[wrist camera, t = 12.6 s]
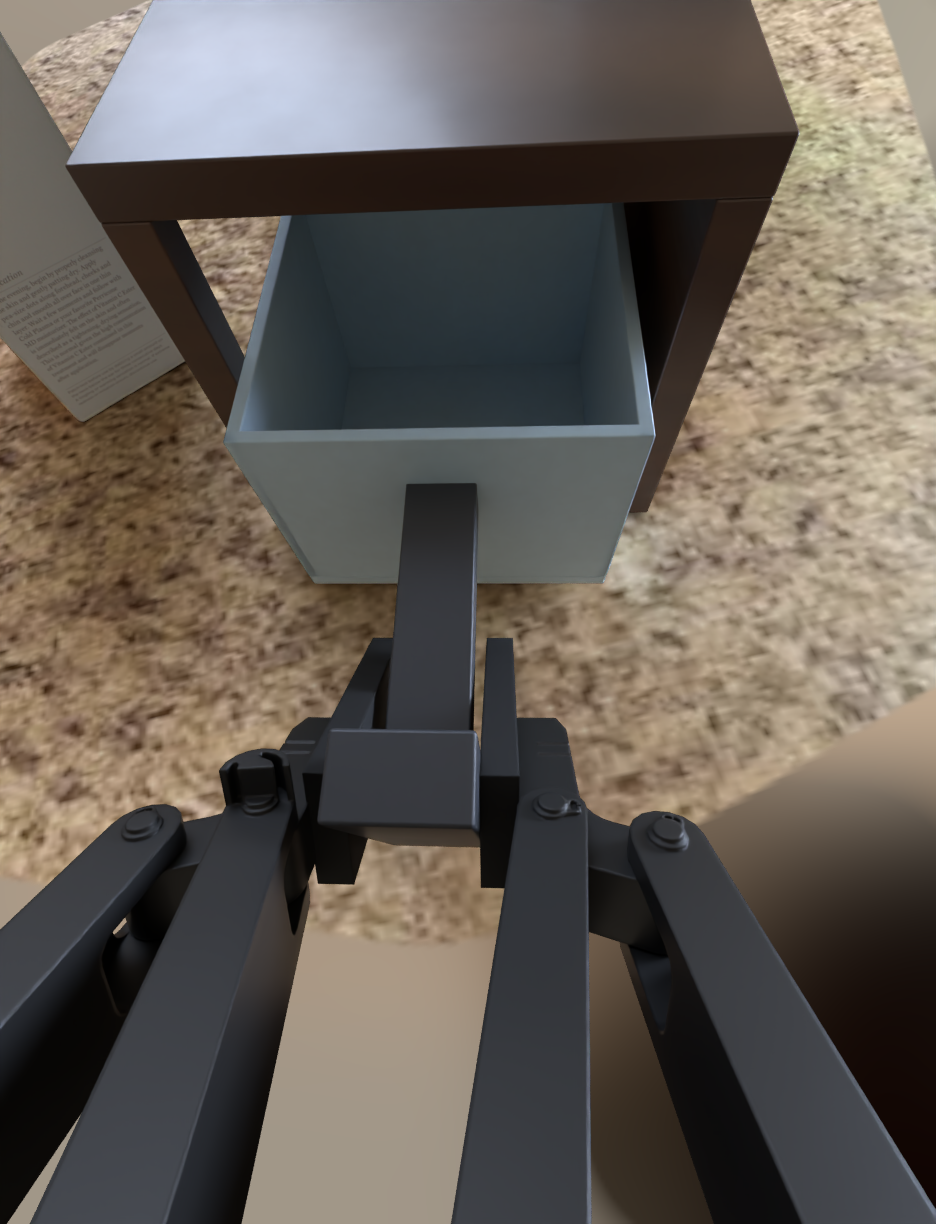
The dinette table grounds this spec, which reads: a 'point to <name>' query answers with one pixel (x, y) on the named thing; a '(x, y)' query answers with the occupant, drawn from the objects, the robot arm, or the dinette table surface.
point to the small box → (65, 269)
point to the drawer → (442, 453)
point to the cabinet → (447, 145)
